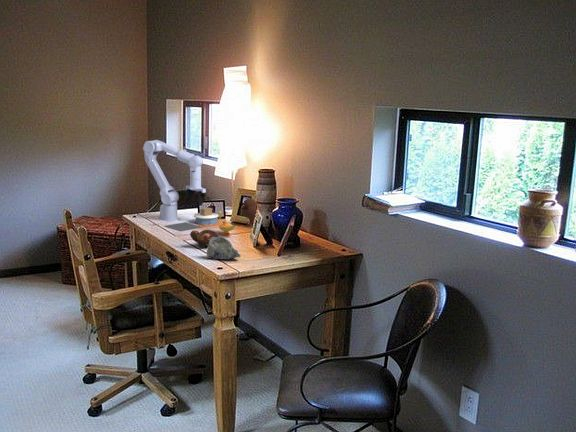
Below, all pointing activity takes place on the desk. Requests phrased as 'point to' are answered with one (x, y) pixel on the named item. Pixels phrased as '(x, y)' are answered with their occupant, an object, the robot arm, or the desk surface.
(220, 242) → the mineral rock
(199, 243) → the decorative turtle
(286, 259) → the desk surface
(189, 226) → the mat
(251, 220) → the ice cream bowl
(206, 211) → the lid
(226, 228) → the magic lamp
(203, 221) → the dish
